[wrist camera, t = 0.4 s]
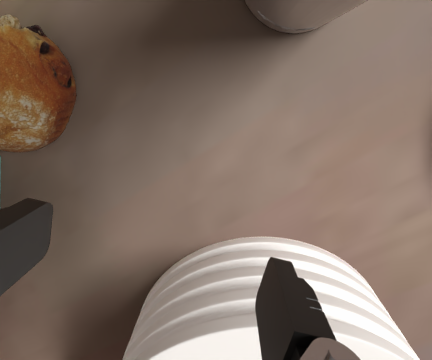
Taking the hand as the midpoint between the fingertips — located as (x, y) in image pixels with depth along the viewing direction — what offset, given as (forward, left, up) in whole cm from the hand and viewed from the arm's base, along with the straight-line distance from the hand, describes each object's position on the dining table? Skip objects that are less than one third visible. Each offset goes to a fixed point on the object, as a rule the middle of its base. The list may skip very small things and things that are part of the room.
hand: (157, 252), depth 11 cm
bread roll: (-1, -16, -17) cm, 24 cm away
